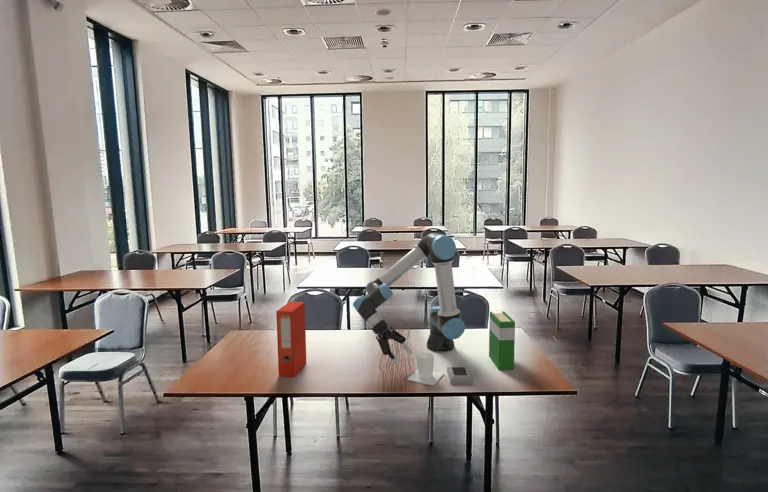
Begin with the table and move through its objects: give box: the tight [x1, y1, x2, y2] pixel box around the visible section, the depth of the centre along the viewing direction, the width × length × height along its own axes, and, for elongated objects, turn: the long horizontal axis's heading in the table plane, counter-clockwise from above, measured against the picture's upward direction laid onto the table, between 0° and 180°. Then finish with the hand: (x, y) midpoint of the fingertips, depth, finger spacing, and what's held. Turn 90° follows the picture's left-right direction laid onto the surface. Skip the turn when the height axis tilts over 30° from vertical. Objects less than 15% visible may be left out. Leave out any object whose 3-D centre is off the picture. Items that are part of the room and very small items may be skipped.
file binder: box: [275, 301, 307, 378], centre depth 223 cm, size 8×17×32 cm, turn 170°
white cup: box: [416, 352, 435, 379], centre depth 213 cm, size 8×8×10 cm
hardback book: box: [488, 311, 516, 371], centre depth 228 cm, size 18×7×24 cm, turn 2°
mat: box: [406, 369, 444, 387], centre depth 213 cm, size 13×13×1 cm
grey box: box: [446, 365, 473, 386], centre depth 213 cm, size 10×4×15 cm
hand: (405, 358), depth 217 cm, fingers open, 13 cm apart
